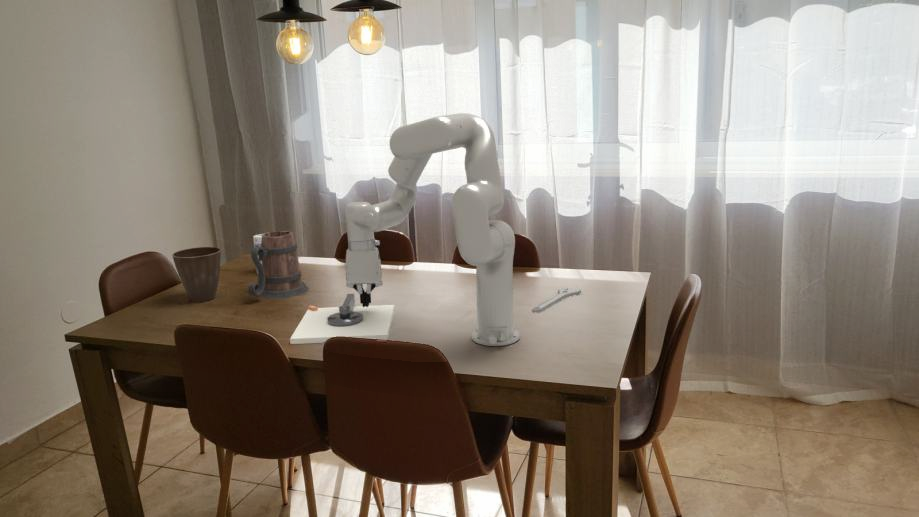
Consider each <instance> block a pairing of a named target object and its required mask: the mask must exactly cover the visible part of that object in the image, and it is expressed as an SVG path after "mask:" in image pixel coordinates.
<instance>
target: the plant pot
mask: <svg viewBox="0 0 919 517" xmlns="http://www.w3.org/2000/svg"><path fill="white" fill-rule="evenodd" d="M221 252H222V250H221V248H220V247H216V246H202V247H201V246H200V247H192V248H191V247H190V248H186V249H181V250H178V251H175V252H173V253H172V255H171V256H172V259H173V263H174V266H175V269H176V272H177V275H178V277H179V280H180V282H181V284H182V286H183V288H184V290H185V292H186V293H187V295H188V297H189V299H190V301H191V302H195V303H200V302H201V303H202V302H207V301H210V300H211V301H212V300H214V299H215V297H216V295H217V294H216V293H217V290H218V286H219V279H220V271H221V259H222V258H221Z"/></svg>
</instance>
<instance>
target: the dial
mask: <svg viewBox="0 0 919 517" xmlns="http://www.w3.org/2000/svg"><path fill="white" fill-rule="evenodd" d="M355 295H356V294H355V292H347V294H346V297H345V299H344V301H343V303H342V305H340V306H338V307H339V313H335V314H332V315H330V316H329V317H328V318H327V320H328V324H330V325H332V326H350V325H355V324H358V323H360V322H361V321H362V320H363V315H362V314H361V313H359V312H352V310H353V308H354V306H356V296H355Z"/></svg>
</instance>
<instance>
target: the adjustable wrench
mask: <svg viewBox="0 0 919 517" xmlns="http://www.w3.org/2000/svg"><path fill="white" fill-rule="evenodd" d="M580 293H581V294H582V288H581V287H576V288H575V289H569V287H568V286H564V287H561V288H559V289H557V294H555V295H553V296H552V297H550V298H548V299H546V300H545V301H542V302H541V303H539V304H537V305H535V306H532V313H535V312H539V313H542V312H543V311H545V310H547V309H549V308H550V307H552V306H554V305H555V303H556V304H557V303H559V302H561V301H562V299H563V300H564V299H566V297H567V298H570V297H569V296H571V297H574V296H573V295H576V296H579V295H580ZM578 294H579V295H578ZM560 300H561V301H560ZM553 304H554V305H553ZM548 307H549V308H548ZM546 308H547V309H546ZM541 311H542V312H541Z"/></svg>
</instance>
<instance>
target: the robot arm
mask: <svg viewBox="0 0 919 517" xmlns="http://www.w3.org/2000/svg"><path fill="white" fill-rule="evenodd" d="M460 148H463V149H465V154H464V171H465V175H466V183H465V184H463V185H461V186H459V187H458V188H457V189H456V191H454V194H453V195H452V196H453V197H452V199H451V215H452V219H453V226H454V232H455V238H456V243H457V248H458V252H459V254H460V257H461V258H462V259H463V260H464V262H465V263H467V264H468V265H470V266H472V267H476V270H475V271H476V273H475V281H476V282H475V283H476V284H475V286H476V287H475V288H476V312H477V313H476V316H477V318H476V319H477V320H476V322H477V329H476V330H474V331H473V332H472V334H471V338H472V340H473V342H475V343H477V344H478V345H483V346H486V347H487V346H488V347H501V346H503V347H504V346H508V345H511V344H514V343H516V342H517V341H518V340H519V339H520V338H521V337H520V332H519V331H518V330H517V329H516V328H514V326H515V325H514V293H513V292H514V291H513V290H514V288H513V287H514V285H513V284H514V283H513V280H514V279H513V278H514V275H513V273H514V272H513V268H514V267H513V265H514V255H515V248H516V237H515V232H514V230H513V228H512V227H511V226H510V224H508V223H507V222H505V221H503V220H500V219H499V220H498V219H493V220H489V217H491V216H493V215H496V214H497V213H499V212H500V211H502V209H503V208H504V203H505V197H504V190H503V185H502V184H503V182H502V178H501V171H500V170H501V169H500V166H499V161H498V160H499V159H498V154H497V153H498V152H497V145H496V138H495V135H494V131H493V129H492V127H491V126H490V125H489V123H488V122H487V121H486V120H484V119H483V118H482V117H480V116H478V115H476V114H471V113H461V112H460V113H452V114H446V115H439V116H434V117H431V118H427V119H423V120H420V121H416V122H413V123H410V124H405V125H402V126H399V127H398V128H396V129H395V130H394V131H393V132H392V133H391V135H390V138H389V150H390V151H391V153H392V155H393V156H394V157H393V159H392V160H391V163H390V165H389V166H388V169H387V172H388V175H389V177H390V178H391V179H392V180H393V181H394V182H395V183H396V184H395V187H394V190H393V191H392V194H391V195H390V197H389V199H388V200H385V201H381V202H378V203H375V204H371V203H370V202H368V201H355V202H354V201H353V202H349V203H347V205H346V206H345V218H346V220H345V221H346V232H347V243H348V244H347V246H348V248H347V249H346V253H345V281H346V282H345V283H346V284H345V287H346V288H348V289H354V290H355V291H356V292H357V293H358V294H359V300H360V301H359V302H360V303H359V304H362V306H363V307H365V306H366V307H368V306H370V304H371V303H372V295H371V294H372V291H373V290H375V288H379V287H382V286H383V284H384V282H383V279H382V278H383V272H382V264H381V257H380V252H379V248H378V247H377V246H380V244H381V242H380V241H381V240H377V239H376V238H375V233H378V232H382V231H384V230H387V229H389V228H393V227H396V226H399V225H400V224H402V223H403V222H404V221H405V219H406V218H407V216H408V215H409V214H410V212H411V210H412V208H413V206H414V205H415V202H416V200H417V192H418V186H417V183H418V180H420V177H421V175H422V174H423V172H424V170H425V168H426V167H427V164H429V160H431V157H432V155H433V154H438V153H441V152H447V151H451V150H456V149H460ZM364 285H366V290H365V289H364Z"/></svg>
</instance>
